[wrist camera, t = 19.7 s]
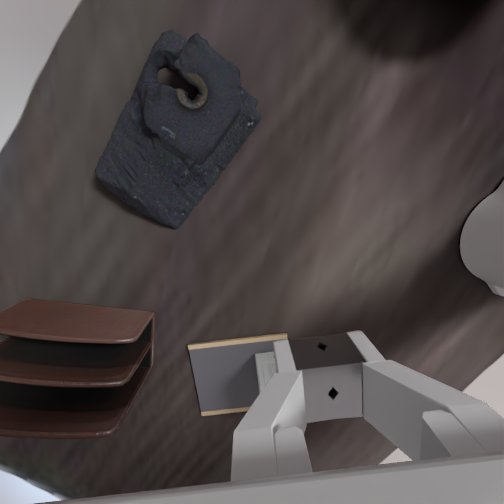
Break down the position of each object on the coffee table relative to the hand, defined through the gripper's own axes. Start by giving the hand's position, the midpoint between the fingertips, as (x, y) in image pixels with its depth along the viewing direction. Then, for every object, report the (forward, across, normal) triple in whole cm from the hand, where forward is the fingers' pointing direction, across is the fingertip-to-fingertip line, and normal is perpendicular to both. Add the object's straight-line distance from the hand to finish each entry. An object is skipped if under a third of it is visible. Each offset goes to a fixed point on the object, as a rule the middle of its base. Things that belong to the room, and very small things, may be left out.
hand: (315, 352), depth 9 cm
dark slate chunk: (+30, +10, -13) cm, 34 cm away
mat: (+29, +6, +24) cm, 38 cm away
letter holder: (+29, +29, +13) cm, 43 cm away
